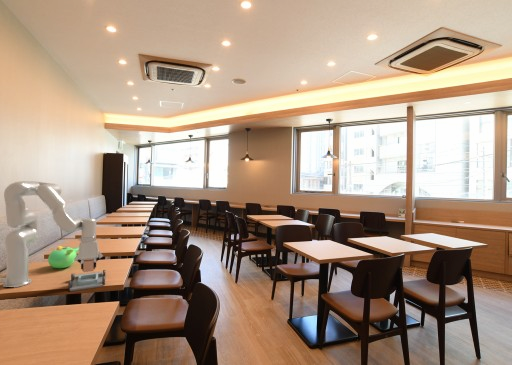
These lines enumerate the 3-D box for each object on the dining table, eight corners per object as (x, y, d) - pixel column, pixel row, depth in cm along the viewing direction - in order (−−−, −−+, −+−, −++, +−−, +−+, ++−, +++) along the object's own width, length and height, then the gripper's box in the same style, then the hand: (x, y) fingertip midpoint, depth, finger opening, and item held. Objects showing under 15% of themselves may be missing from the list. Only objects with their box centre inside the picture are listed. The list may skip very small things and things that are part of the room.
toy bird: (54, 264, 196) (54, 243, 196) (81, 262, 201) (81, 242, 201) (43, 272, 179) (43, 250, 179) (73, 270, 184) (73, 248, 184)
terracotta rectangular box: (83, 272, 159) (83, 262, 159) (84, 268, 165) (84, 258, 165) (93, 270, 162) (93, 260, 161) (93, 267, 168) (93, 257, 168)
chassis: (67, 291, 150) (67, 283, 150) (72, 278, 169) (72, 271, 168) (104, 286, 159) (105, 278, 158) (105, 274, 177) (105, 268, 177)
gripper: (71, 241, 156) (70, 273, 156) (105, 239, 164) (104, 269, 164) (72, 239, 163) (72, 269, 163) (105, 236, 171) (105, 265, 171)
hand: (88, 269), depth 163 cm, fingers closed on terracotta rectangular box, 5 cm apart
